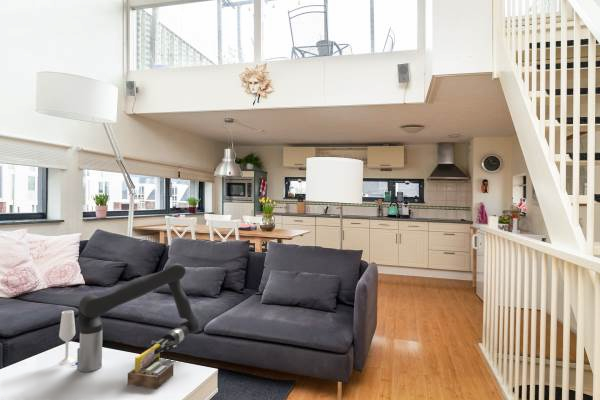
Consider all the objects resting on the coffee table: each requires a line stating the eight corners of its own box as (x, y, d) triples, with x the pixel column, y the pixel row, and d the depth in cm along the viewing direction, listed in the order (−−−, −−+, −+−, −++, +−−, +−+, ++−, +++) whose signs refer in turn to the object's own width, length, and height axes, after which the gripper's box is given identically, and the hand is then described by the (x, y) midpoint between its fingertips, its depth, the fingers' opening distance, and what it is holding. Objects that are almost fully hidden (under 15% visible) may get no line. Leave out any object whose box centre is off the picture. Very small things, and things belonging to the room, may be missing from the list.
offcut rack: (127, 385, 155) (127, 373, 155) (145, 371, 167) (145, 360, 167) (157, 389, 152) (157, 377, 152) (173, 375, 164) (173, 364, 164)
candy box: (138, 377, 156) (138, 358, 156) (133, 376, 156) (134, 357, 156) (160, 361, 171) (160, 343, 171) (156, 360, 172) (156, 343, 172)
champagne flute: (54, 363, 174) (56, 312, 174) (68, 357, 180) (69, 309, 180) (65, 365, 172) (66, 314, 172) (78, 359, 178) (79, 310, 178)
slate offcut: (153, 385, 155) (153, 372, 155) (162, 377, 162) (162, 365, 162) (157, 385, 154) (157, 372, 155) (166, 378, 161) (166, 365, 161)
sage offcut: (145, 383, 156) (145, 369, 156) (156, 375, 164) (156, 361, 164) (149, 384, 156) (149, 370, 156) (160, 375, 164) (160, 362, 164)
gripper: (161, 329, 185) (139, 342, 169) (185, 332, 183) (166, 345, 166) (160, 344, 185) (139, 358, 168) (185, 347, 183) (166, 361, 166)
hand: (152, 351), depth 167 cm, fingers closed on candy box, 2 cm apart
